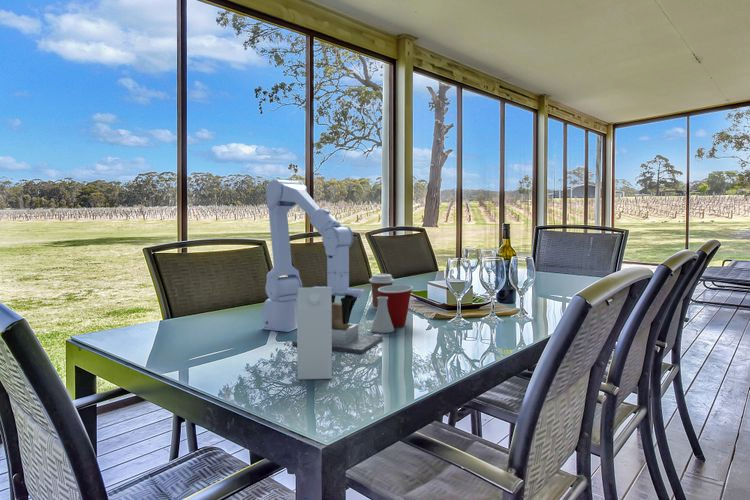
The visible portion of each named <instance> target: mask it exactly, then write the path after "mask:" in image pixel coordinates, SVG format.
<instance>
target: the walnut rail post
mask: <svg viewBox="0 0 750 500" xmlns="http://www.w3.org/2000/svg"><path fill="white" fill-rule="evenodd" d="M347 328H348V323H347V324H343V309H342V303H341V302H338V301H335V302H333V303H332V329H339V330H345V329H347Z"/></svg>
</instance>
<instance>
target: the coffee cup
mask: <svg viewBox="0 0 750 500" xmlns="http://www.w3.org/2000/svg"><path fill="white" fill-rule="evenodd" d="M368 281H369V283H370V285H371V286H370V287H371V297H372V299H371V300H372V308H373V309H374V310H377V308H378V299H377V297H381V295H380V293H379V291H378V288H380V287H384V286H389V285H394V284H393V283H395V279H394V278H393V275H392V274H390V273H389V274H388V273H374V274H372V275H371V277H370V278H369V279H368Z"/></svg>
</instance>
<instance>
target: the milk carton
mask: <svg viewBox="0 0 750 500" xmlns="http://www.w3.org/2000/svg"><path fill="white" fill-rule="evenodd" d="M322 287H323V288H312V287H302V288H298V298H297V300H296V313H297V329H296V335H297V336H296V337H297V338H296V339H297V346H296V347H297V354H296V355H297V361H296V362H297V380H328V379H329V380H331V379H333V378H332V377H333V376H332V375H333V372H332V369H333V366H332V365H333V363H332V361H333V358H332V355H333V354H332V353H333V350H332V302H331V287H327V286H322Z"/></svg>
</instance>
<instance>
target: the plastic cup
mask: <svg viewBox="0 0 750 500" xmlns="http://www.w3.org/2000/svg"><path fill="white" fill-rule="evenodd" d="M413 288H414V286H412V285H410V284H392V285H389V286H384V287H380V288H378V291H379V293H380V295H381V297H388V300H387V308H388V312H389V315H390V319H391V322H392V324H393V327H394V328H402V327H405V325H406V322H407V316H408V313H409V307H410V299H411V294H412V290H413Z"/></svg>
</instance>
